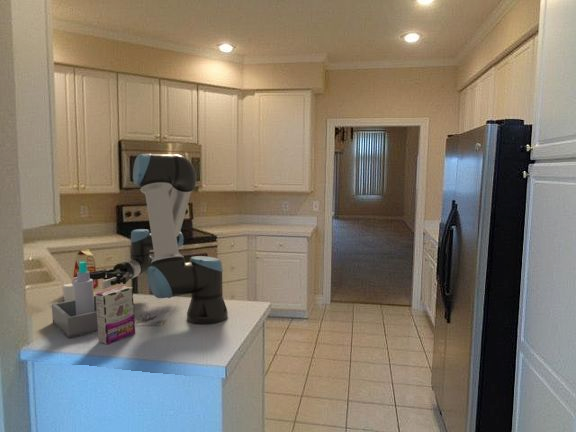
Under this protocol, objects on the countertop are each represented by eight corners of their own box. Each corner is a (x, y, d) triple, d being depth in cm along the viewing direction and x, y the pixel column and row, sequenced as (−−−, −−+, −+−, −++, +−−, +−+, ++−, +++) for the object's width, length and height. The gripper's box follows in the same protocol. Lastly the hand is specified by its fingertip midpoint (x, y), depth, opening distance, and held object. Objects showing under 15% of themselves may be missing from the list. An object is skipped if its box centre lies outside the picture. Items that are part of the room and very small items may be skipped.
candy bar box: (126, 331, 149) (124, 285, 147) (135, 334, 146) (133, 287, 144) (97, 342, 139) (94, 292, 137) (106, 345, 137) (104, 295, 135)
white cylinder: (75, 297, 189) (74, 281, 188) (83, 299, 185) (83, 284, 184) (59, 300, 183) (58, 284, 182) (67, 303, 179) (67, 287, 178)
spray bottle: (97, 319, 158) (94, 260, 155) (91, 324, 152) (88, 264, 149) (80, 319, 157) (77, 260, 155) (73, 325, 151) (70, 264, 149)
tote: (118, 326, 153) (117, 307, 152) (68, 338, 142) (67, 318, 141) (99, 312, 168) (98, 295, 167) (52, 322, 157) (51, 304, 156)
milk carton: (88, 292, 196) (86, 249, 194) (70, 291, 197) (68, 248, 195) (100, 287, 204) (98, 246, 202) (83, 286, 206) (81, 245, 204)
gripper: (152, 281, 173) (116, 296, 152) (101, 277, 180) (61, 290, 160) (152, 263, 172) (116, 276, 152) (101, 259, 179) (60, 271, 159)
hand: (87, 283), depth 156 cm, fingers open, 13 cm apart
